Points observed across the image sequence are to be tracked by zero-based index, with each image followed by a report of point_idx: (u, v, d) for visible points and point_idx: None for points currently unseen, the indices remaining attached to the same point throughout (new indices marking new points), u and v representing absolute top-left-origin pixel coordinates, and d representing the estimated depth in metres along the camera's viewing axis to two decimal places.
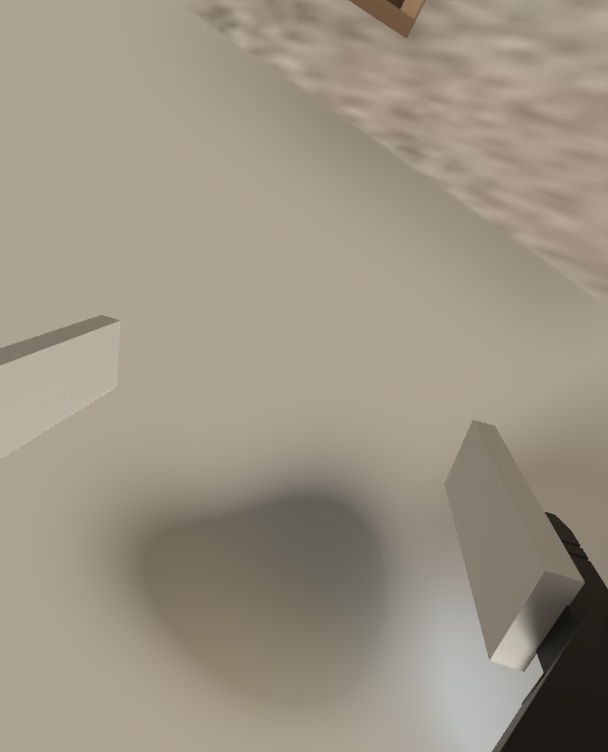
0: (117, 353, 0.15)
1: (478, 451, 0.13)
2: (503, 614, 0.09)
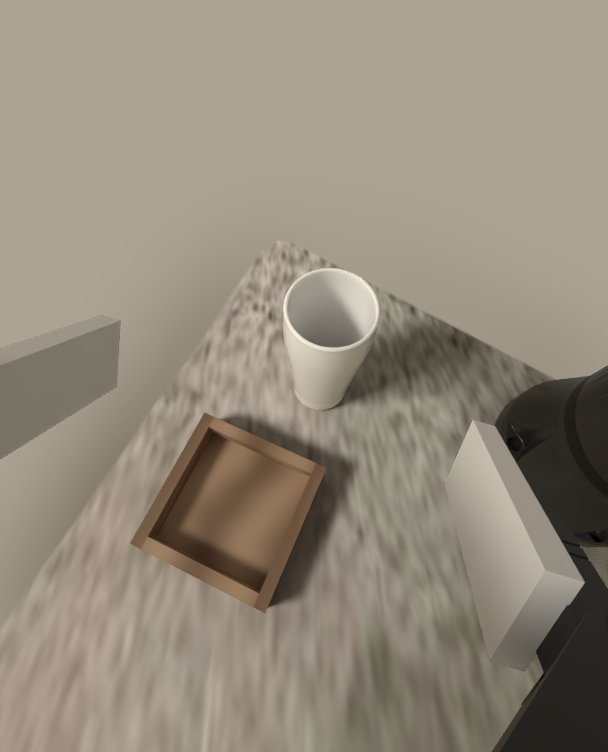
0: (117, 353, 0.15)
1: (478, 451, 0.13)
2: (503, 614, 0.09)
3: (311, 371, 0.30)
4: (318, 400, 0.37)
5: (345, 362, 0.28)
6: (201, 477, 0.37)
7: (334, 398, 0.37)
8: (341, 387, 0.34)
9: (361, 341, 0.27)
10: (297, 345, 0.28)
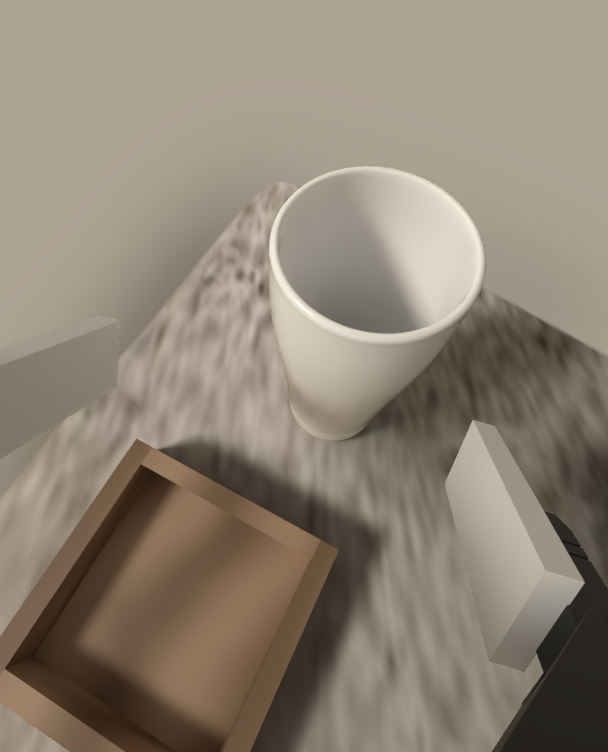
0: (117, 354, 0.15)
1: (478, 451, 0.13)
2: (503, 614, 0.09)
3: (323, 383, 0.15)
4: (330, 428, 0.22)
5: (399, 369, 0.13)
6: (125, 548, 0.22)
7: (357, 426, 0.22)
8: (374, 411, 0.19)
9: (446, 322, 0.11)
10: (296, 326, 0.12)
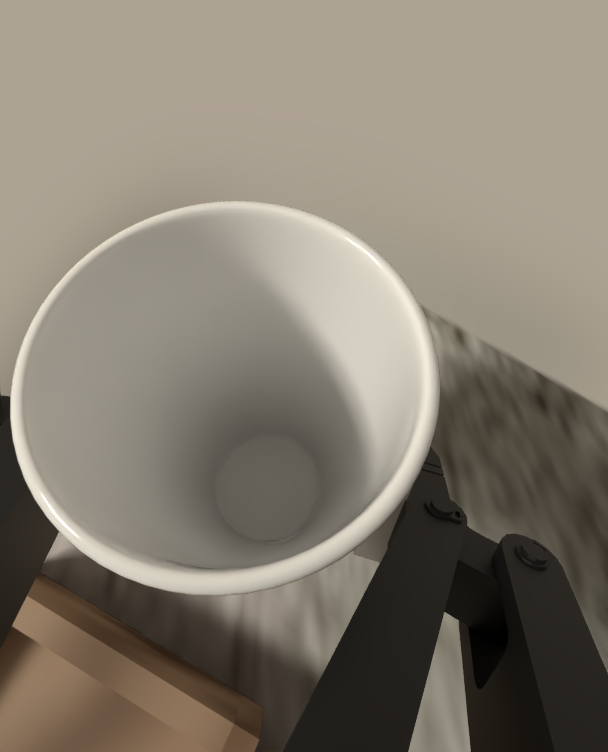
0: None
1: None
2: None
3: None
4: None
5: None
6: None
7: None
8: None
9: (351, 539, 0.05)
10: None
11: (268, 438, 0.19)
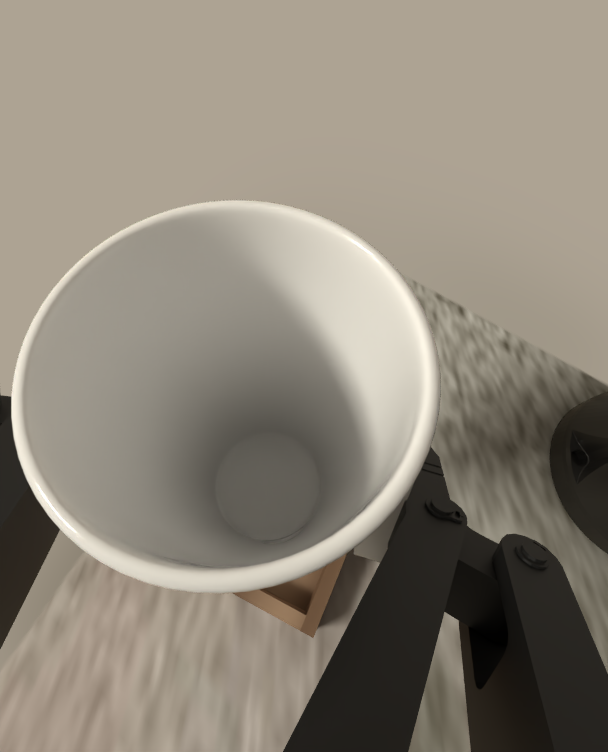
0: None
1: None
2: None
3: None
4: None
5: None
6: None
7: None
8: None
9: (353, 537, 0.05)
10: None
11: (268, 438, 0.19)
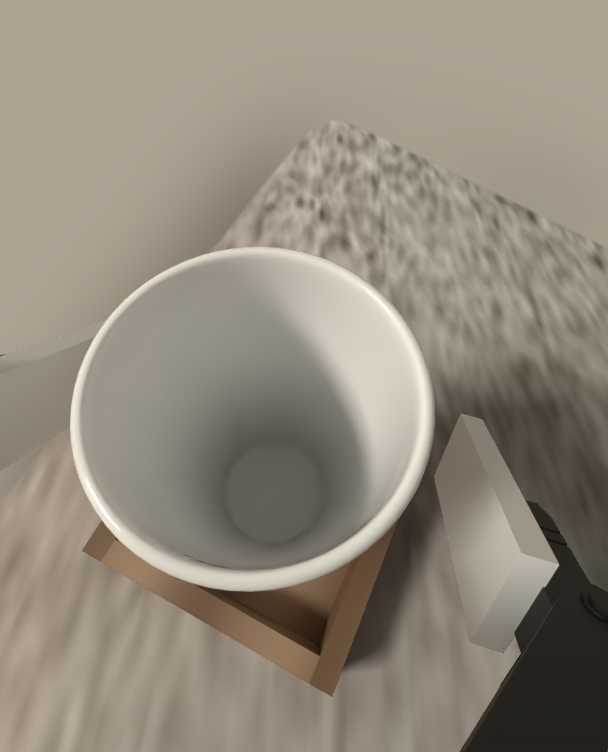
0: None
1: (465, 443, 0.13)
2: (483, 597, 0.09)
3: None
4: None
5: None
6: None
7: None
8: None
9: (360, 546, 0.06)
10: None
11: (274, 445, 0.20)
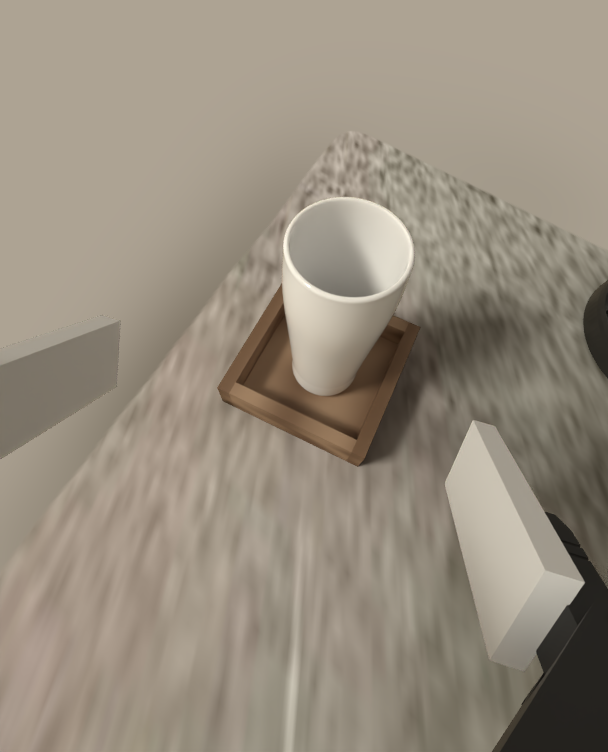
0: (117, 353, 0.15)
1: (478, 451, 0.13)
2: (503, 614, 0.09)
3: (317, 336, 0.23)
4: (322, 381, 0.30)
5: (364, 322, 0.21)
6: (283, 339, 0.35)
7: (343, 380, 0.30)
8: (353, 364, 0.27)
9: (389, 291, 0.19)
10: (300, 295, 0.20)
11: None
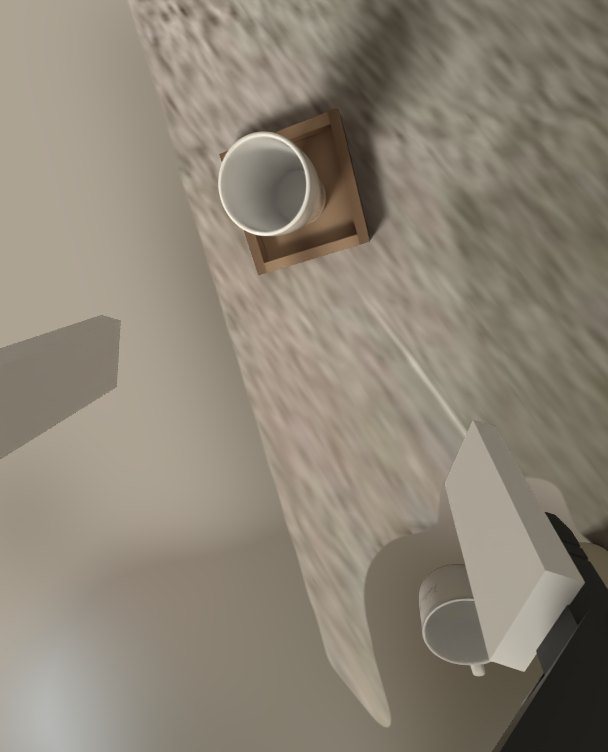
0: (117, 353, 0.15)
1: (478, 451, 0.13)
2: (503, 614, 0.09)
3: (289, 233, 0.33)
4: (310, 222, 0.39)
5: (308, 213, 0.30)
6: None
7: (320, 209, 0.39)
8: (319, 207, 0.36)
9: (307, 197, 0.28)
10: None
11: (282, 180, 0.40)
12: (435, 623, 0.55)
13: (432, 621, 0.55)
